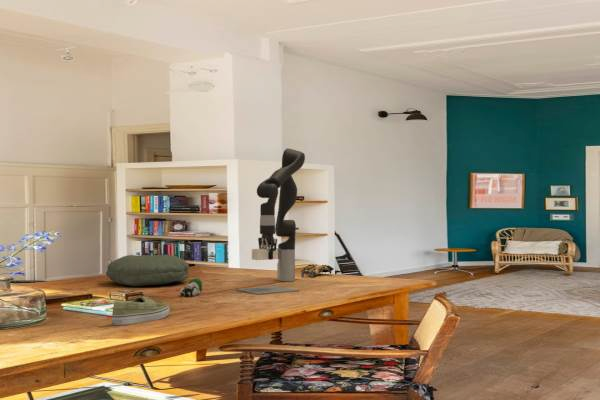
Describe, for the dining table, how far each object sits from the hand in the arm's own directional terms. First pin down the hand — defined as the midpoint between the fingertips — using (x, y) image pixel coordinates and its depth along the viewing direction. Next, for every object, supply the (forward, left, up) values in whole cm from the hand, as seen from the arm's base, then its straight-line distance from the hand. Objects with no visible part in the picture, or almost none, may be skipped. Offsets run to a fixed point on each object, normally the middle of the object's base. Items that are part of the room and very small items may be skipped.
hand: (267, 259), depth 360 cm
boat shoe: (+45, -84, -16) cm, 97 cm away
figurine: (-42, +62, -16) cm, 77 cm away
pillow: (-60, -35, -16) cm, 71 cm away
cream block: (0, -8, +3) cm, 8 cm away
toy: (-7, -38, -16) cm, 41 cm away
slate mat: (0, 0, -15) cm, 15 cm away
